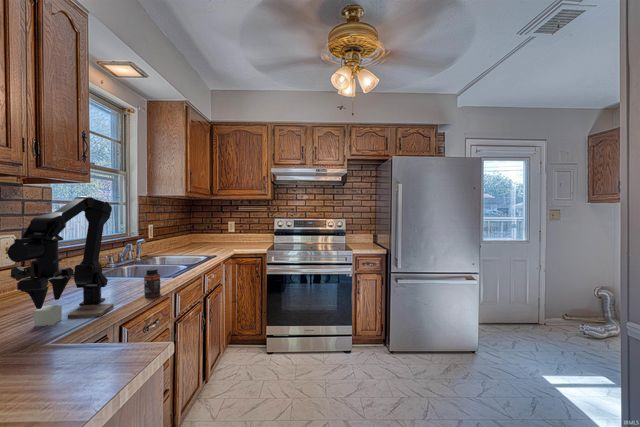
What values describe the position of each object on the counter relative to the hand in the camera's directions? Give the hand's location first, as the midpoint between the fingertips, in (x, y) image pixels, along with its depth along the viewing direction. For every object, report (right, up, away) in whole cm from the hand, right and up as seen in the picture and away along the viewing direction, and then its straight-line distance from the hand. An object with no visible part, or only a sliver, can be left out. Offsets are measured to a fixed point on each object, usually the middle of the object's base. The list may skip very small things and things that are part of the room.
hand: (48, 304), depth 103 cm
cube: (0, -6, 0) cm, 6 cm away
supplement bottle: (+18, -5, +30) cm, 35 cm away
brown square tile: (+7, -6, +10) cm, 13 cm away
